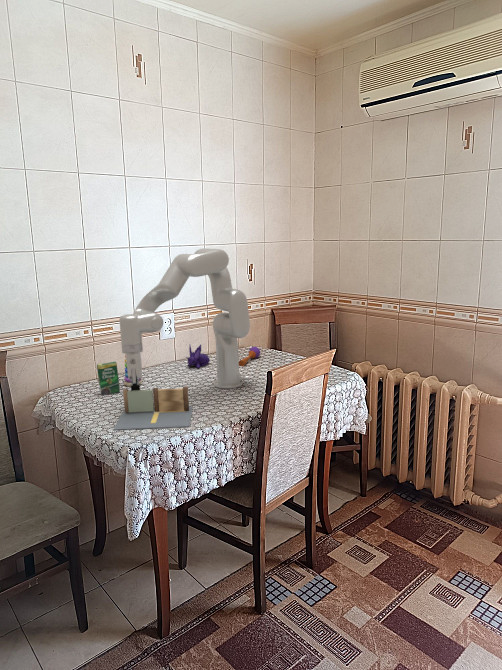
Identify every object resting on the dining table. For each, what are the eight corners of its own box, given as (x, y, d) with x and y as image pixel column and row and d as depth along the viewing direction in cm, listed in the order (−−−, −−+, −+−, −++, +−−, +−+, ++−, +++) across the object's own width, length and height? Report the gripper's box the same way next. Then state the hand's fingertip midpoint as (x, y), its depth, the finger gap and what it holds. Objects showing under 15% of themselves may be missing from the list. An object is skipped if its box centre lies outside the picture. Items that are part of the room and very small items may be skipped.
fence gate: (154, 409, 186) (152, 387, 184) (153, 411, 184) (151, 389, 182) (125, 410, 185) (123, 389, 183) (124, 412, 183) (122, 390, 182)
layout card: (192, 407, 190) (192, 406, 189) (189, 426, 171) (189, 425, 171) (124, 410, 188) (124, 409, 188) (113, 430, 170) (113, 429, 170)
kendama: (234, 358, 243) (250, 345, 261) (237, 369, 244) (252, 356, 262) (245, 357, 241) (260, 344, 258) (248, 368, 242) (263, 355, 260)
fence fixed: (189, 409, 186) (187, 386, 184) (188, 411, 185) (187, 387, 183) (155, 410, 186) (153, 387, 184) (154, 412, 184) (152, 389, 182)
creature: (178, 369, 240) (176, 345, 237) (202, 360, 255) (200, 337, 252) (192, 372, 235) (191, 347, 233) (215, 363, 250) (214, 339, 247)
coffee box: (100, 395, 205) (97, 365, 203) (99, 393, 208) (96, 363, 205) (120, 392, 209) (117, 362, 206) (119, 390, 211) (116, 361, 208)
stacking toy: (146, 382, 222) (143, 341, 218) (136, 387, 214) (133, 345, 210) (130, 380, 224) (127, 340, 220) (120, 386, 217) (117, 344, 213)
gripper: (142, 351, 176) (146, 400, 180) (142, 342, 191) (146, 387, 194) (120, 353, 175) (125, 402, 179) (122, 343, 189) (126, 389, 193)
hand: (135, 394), depth 187 cm, fingers closed
